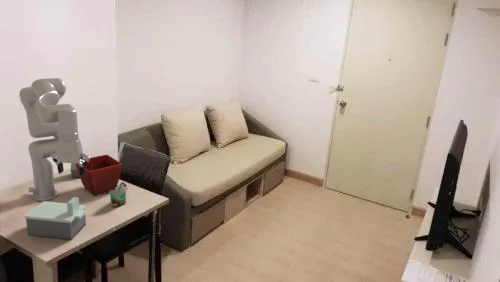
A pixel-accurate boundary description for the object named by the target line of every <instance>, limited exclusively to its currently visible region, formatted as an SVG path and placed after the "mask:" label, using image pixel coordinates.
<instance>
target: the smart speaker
mask: <svg viewBox="0 0 500 282" xmlns="http://www.w3.org/2000/svg"><path fill="white" fill-rule="evenodd" d="M83 159H85V158H83ZM70 174H71V176H72V177H73V178H80V176H79V173H78V170H77V167H76V164H74V163H70Z"/></svg>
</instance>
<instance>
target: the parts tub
mask: <svg viewBox="0 0 500 282" xmlns="http://www.w3.org/2000/svg"><path fill="white" fill-rule="evenodd" d="M84 210H86V208H85V209H84ZM25 222H26V231H27V236H28V237H35V238H45V239H54V240H55V239H56V240H64V241H72V240H74V238H76V236H77V235H78V234H79V233H80V232H81V231H82V230H83V229H84V228H85V226H86V225H87V218H86V213H85V214H84V215H83V216H82V217H81V218H80V219H78V218H75V219H74V220H73V221H72V222H71V223H65V222H56V221H46V220H36V219H26V218H25Z"/></svg>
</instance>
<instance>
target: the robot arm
mask: <svg viewBox="0 0 500 282" xmlns="http://www.w3.org/2000/svg"><path fill="white" fill-rule="evenodd" d="M66 92H67V86H66V83H65V82H64V80H63V79H61V78H59V77H52V78H51V77H50V78H38V79H36V80H33V82H32V84H31V85H30V86H27V87H23V88H21V89H20V90H19V98H20V99H19V100H20V103H21V104H22V106H23V108H24V110H25V114H26V120H27V126H28V132H29V135H30V137H32V138H33V139H40V140H34V141H32V142H30V143H29V144H28V147H27V149H28V153H29V157H30V161H31V167H32V168H31V169H32V174H33V175H32V177H33V185H34V186H29V187H28V193H32V194H31V198H32V200H34V201H37V202H38V201H39V202H43V201H47V202H48V201H50V200H51V201H52V200H54V199H56V198H57V197H58V196H59V192H58V190H56V188H55V178H54V168H53V167H54V166H53V164H52V161H53V162H54V163H55V165H56V166H57V172H58V173H57V174H58V175H59V174H60V175H61V174H62V173H64V171H65V170H64V164H71V163H74V164H76V163H78V164H79V165H80V167H79V170H80V176H82V175H83V174H84V173H85V165H86V164H87V163H88V162H89V160H90V158H91V156H89V155H87V154H86V153H85V152H84V149H83V145H82V141H81V139H80V138H79V128H78V127H79V126H78V124H79V123H78V113H77V109H75V107H74V106H73V105H72V104H70V103H63V104H62V103H61V104H59V102H60V101H61V99H62V98H63V97H64V96H65V94H66ZM47 137H53V138H47ZM42 138H45V139H42ZM46 138H47V139H46ZM48 158H51V160H52V161H50V160H49V159H48ZM83 158H85V159H86V160H85V162H84V161H83Z"/></svg>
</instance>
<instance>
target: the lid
mask: <svg viewBox="0 0 500 282" xmlns="http://www.w3.org/2000/svg"><path fill="white" fill-rule="evenodd" d="M86 208H87V205H85V204H80V197H76V196H75V197H74V196H73V197H72V198H71V199H70V200H69V201H67V202H56V201H55V202H54V201H48V200H47V201H41V202H40V204H38V205H37V206H35V207H34V208H32V210H30V211H29V212H28V213H26V214H25V215H24V219H25V220H26V219H36V220H46V221H56V222H65V223H71V222H72V221H73V220H74V219H75V218H78V219H80V218H81V217H82V216H83V215H84V214H85V215H86V214H87V210H86ZM84 209H85V210H84Z"/></svg>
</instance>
